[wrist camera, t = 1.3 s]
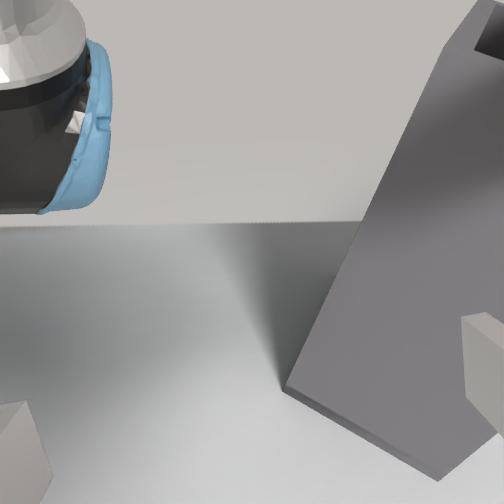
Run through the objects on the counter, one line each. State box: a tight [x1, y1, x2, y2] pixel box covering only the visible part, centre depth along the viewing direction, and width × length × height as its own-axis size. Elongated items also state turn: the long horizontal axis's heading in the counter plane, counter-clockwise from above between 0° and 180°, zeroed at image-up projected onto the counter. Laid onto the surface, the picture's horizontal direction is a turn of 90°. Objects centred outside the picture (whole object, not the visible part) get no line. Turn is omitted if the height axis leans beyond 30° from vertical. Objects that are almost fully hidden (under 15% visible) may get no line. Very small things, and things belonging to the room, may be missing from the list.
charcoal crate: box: [283, 0, 504, 481], centre depth 34 cm, size 14×18×29 cm
